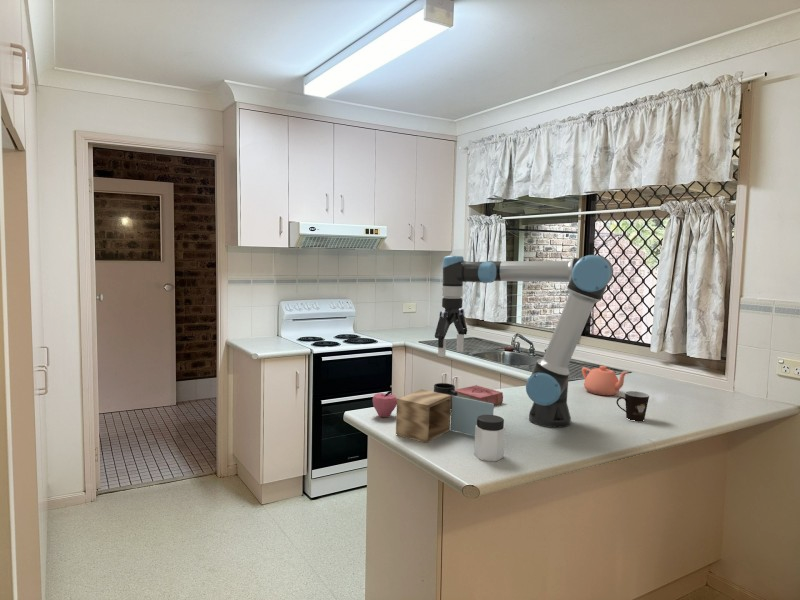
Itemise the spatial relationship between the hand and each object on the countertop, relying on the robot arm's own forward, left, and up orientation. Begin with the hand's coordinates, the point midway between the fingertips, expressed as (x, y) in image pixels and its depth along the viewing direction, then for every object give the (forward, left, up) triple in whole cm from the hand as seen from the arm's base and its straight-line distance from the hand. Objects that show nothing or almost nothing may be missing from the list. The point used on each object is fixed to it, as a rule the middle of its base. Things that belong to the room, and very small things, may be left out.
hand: (451, 353), depth 210 cm
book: (0, -25, -25) cm, 35 cm away
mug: (+4, -6, -24) cm, 25 cm away
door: (-17, +15, -24) cm, 32 cm away
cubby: (-2, +22, -24) cm, 33 cm away
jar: (-30, +28, -24) cm, 47 cm away
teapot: (-38, -77, -24) cm, 89 cm away
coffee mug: (-57, -43, -24) cm, 75 cm away
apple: (+18, +16, -24) cm, 34 cm away
